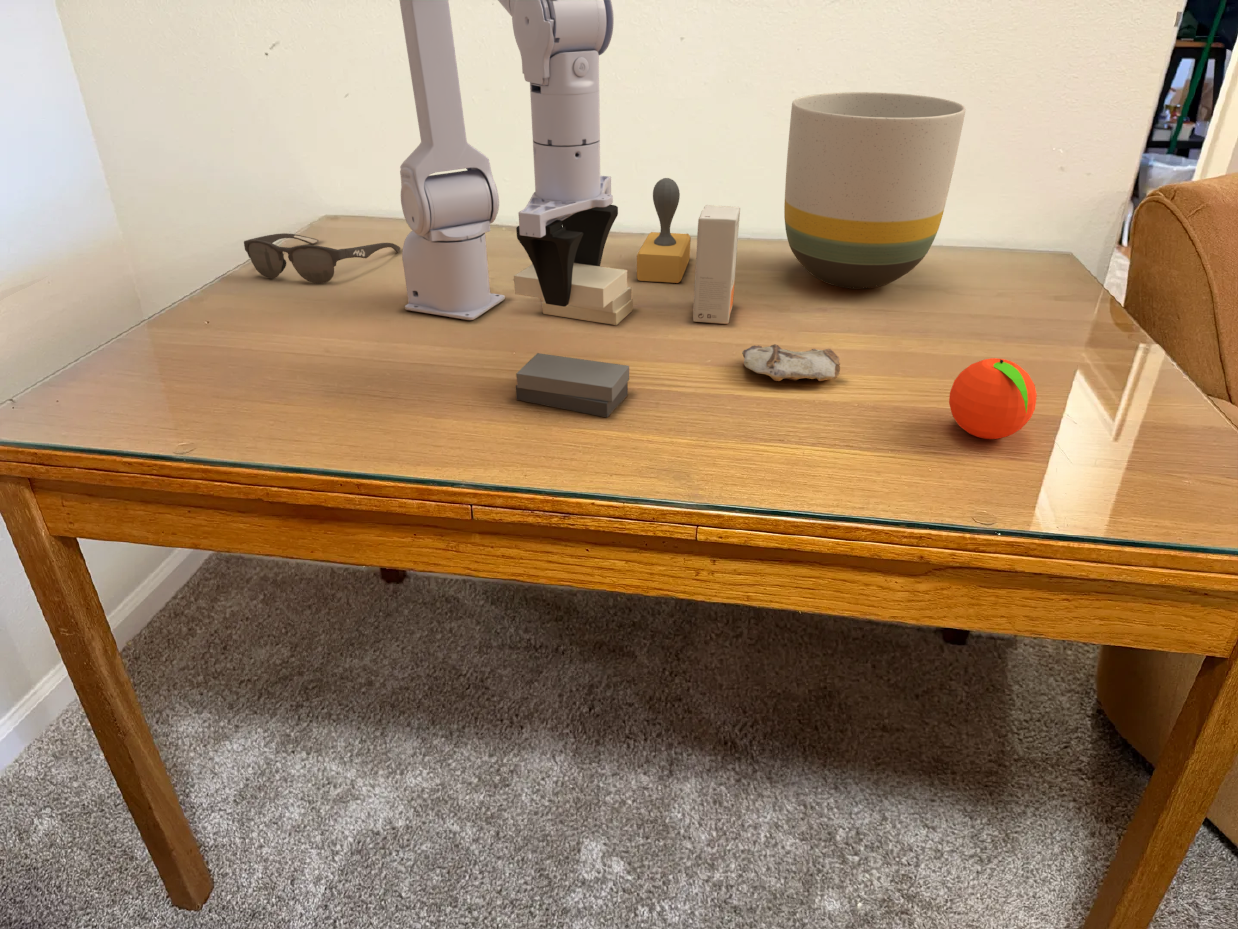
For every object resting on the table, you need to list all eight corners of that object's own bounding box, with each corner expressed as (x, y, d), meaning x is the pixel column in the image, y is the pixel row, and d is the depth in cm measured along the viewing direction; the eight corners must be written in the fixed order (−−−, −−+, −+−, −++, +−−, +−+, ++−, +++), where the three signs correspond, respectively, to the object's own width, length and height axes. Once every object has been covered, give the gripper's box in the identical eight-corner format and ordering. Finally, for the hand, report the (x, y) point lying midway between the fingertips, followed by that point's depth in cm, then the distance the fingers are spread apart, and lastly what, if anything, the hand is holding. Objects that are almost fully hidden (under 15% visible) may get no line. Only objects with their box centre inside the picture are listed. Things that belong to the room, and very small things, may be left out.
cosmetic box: (729, 325, 97) (736, 220, 90) (692, 322, 97) (696, 218, 91) (733, 306, 102) (741, 205, 96) (698, 304, 103) (703, 203, 96)
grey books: (514, 401, 81) (512, 372, 79) (541, 377, 85) (540, 350, 83) (609, 420, 77) (609, 390, 76) (632, 394, 82) (632, 366, 80)
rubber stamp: (680, 283, 109) (683, 188, 103) (636, 280, 110) (637, 186, 104) (690, 260, 117) (693, 170, 111) (648, 257, 118) (650, 168, 112)
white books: (539, 314, 100) (537, 289, 98) (559, 299, 104) (558, 275, 103) (615, 326, 97) (615, 301, 95) (633, 310, 101) (633, 285, 99)
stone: (742, 388, 83) (744, 363, 81) (740, 357, 89) (742, 333, 88) (841, 392, 82) (845, 367, 81) (833, 360, 88) (836, 337, 87)
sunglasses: (233, 276, 111) (227, 238, 109) (311, 253, 126) (306, 219, 124) (343, 288, 107) (338, 248, 105) (410, 263, 122) (407, 228, 120)
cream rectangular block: (514, 294, 78) (513, 275, 77) (542, 276, 83) (541, 258, 82) (603, 308, 75) (603, 288, 74) (627, 288, 80) (627, 269, 79)
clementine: (1050, 455, 72) (1073, 379, 68) (976, 464, 70) (996, 387, 67) (995, 412, 78) (1014, 340, 75) (927, 419, 77) (942, 347, 73)
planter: (866, 320, 98) (897, 124, 87) (744, 277, 111) (757, 102, 100) (961, 284, 108) (1000, 105, 97) (839, 249, 121) (861, 87, 110)
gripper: (571, 160, 65) (576, 327, 72) (641, 129, 76) (639, 275, 83) (491, 153, 67) (504, 315, 74) (571, 123, 79) (575, 266, 86)
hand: (571, 293), depth 79 cm, fingers closed on cream rectangular block, 5 cm apart
